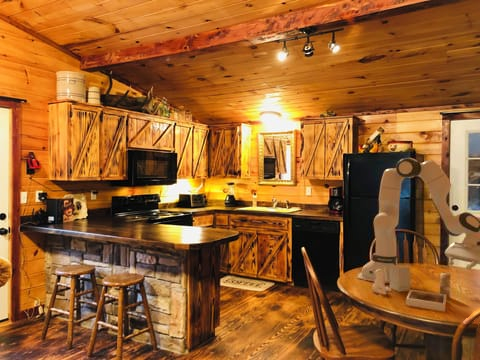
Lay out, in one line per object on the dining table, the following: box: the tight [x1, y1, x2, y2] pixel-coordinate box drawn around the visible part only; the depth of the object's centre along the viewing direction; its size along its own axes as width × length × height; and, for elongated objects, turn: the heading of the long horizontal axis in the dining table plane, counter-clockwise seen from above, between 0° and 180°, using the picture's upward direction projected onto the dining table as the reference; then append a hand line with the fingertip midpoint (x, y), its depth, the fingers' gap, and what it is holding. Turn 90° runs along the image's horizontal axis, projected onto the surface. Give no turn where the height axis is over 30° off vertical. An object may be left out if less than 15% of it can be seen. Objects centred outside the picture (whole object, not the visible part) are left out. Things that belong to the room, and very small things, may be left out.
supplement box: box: [389, 264, 411, 293], centre depth 202 cm, size 7×7×13 cm
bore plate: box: [411, 292, 443, 303], centre depth 180 cm, size 13×13×2 cm
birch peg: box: [439, 272, 451, 300], centre depth 189 cm, size 4×4×12 cm
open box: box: [405, 289, 447, 312], centre depth 180 cm, size 16×16×4 cm
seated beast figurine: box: [371, 269, 392, 295], centre depth 198 cm, size 10×9×12 cm
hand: (458, 266), depth 193 cm, fingers open, 8 cm apart
